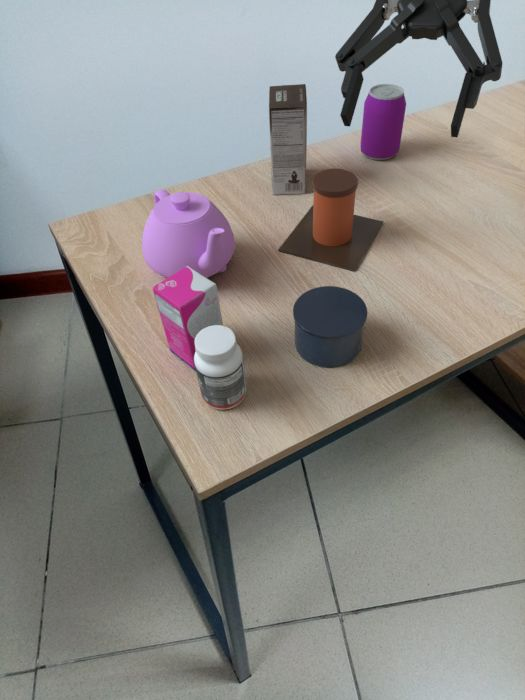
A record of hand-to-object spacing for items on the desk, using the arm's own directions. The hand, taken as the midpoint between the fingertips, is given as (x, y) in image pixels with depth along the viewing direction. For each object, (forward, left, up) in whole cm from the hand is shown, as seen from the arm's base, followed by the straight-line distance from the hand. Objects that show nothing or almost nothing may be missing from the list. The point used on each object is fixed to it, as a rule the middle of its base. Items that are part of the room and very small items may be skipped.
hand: (397, 126), depth 65 cm
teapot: (+26, +12, -22) cm, 36 cm away
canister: (+9, -5, -22) cm, 24 cm away
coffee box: (+23, -18, -22) cm, 37 cm away
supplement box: (+16, +26, -22) cm, 38 cm away
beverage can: (+11, -35, -22) cm, 43 cm away
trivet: (+9, -5, -22) cm, 25 cm away
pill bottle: (+9, +31, -22) cm, 40 cm away
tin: (+1, +18, -22) cm, 28 cm away
